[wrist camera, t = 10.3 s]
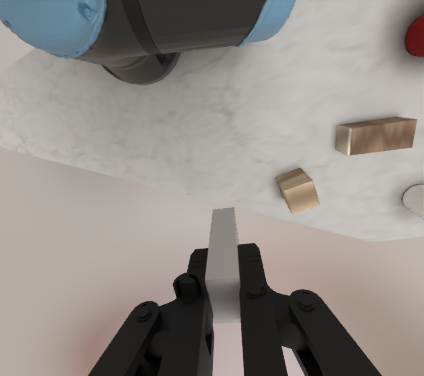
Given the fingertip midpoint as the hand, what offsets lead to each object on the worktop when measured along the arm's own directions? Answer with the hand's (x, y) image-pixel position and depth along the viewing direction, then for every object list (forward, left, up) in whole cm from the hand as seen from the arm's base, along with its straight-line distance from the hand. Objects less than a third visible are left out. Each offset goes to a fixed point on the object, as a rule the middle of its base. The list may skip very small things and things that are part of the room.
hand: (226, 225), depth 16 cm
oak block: (+10, +12, -30) cm, 33 cm away
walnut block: (+2, +20, -27) cm, 34 cm away
